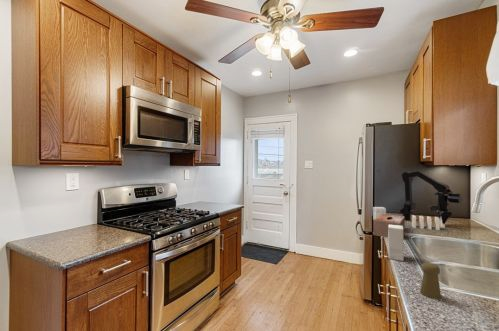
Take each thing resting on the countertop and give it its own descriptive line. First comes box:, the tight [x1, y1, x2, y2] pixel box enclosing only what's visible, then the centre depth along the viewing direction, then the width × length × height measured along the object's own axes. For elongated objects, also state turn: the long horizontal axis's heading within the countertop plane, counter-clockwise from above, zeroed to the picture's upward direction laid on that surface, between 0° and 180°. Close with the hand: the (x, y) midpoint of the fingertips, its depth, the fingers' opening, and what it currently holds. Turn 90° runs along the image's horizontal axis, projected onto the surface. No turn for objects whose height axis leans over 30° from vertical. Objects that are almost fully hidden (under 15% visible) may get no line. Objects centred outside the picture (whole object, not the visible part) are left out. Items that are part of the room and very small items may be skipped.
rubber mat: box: [405, 224, 451, 233], centre depth 169 cm, size 10×26×1 cm, turn 65°
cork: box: [419, 262, 442, 300], centre depth 85 cm, size 6×6×11 cm
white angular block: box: [411, 214, 417, 228], centre depth 172 cm, size 2×5×8 cm, turn 155°
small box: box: [372, 206, 387, 220], centre depth 195 cm, size 8×6×10 cm
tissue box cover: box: [372, 213, 406, 238], centre depth 161 cm, size 26×14×10 cm, turn 141°
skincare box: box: [387, 224, 405, 262], centre depth 119 cm, size 8×7×16 cm
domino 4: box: [440, 216, 446, 228], centre depth 172 cm, size 2×5×8 cm, turn 154°
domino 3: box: [434, 216, 441, 230], centre depth 166 cm, size 2×5×8 cm, turn 155°
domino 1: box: [418, 215, 425, 230], centre depth 170 cm, size 2×5×8 cm, turn 155°
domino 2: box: [426, 216, 433, 229], centre depth 168 cm, size 2×5×8 cm, turn 155°
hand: (442, 222), depth 173 cm, fingers open, 5 cm apart
